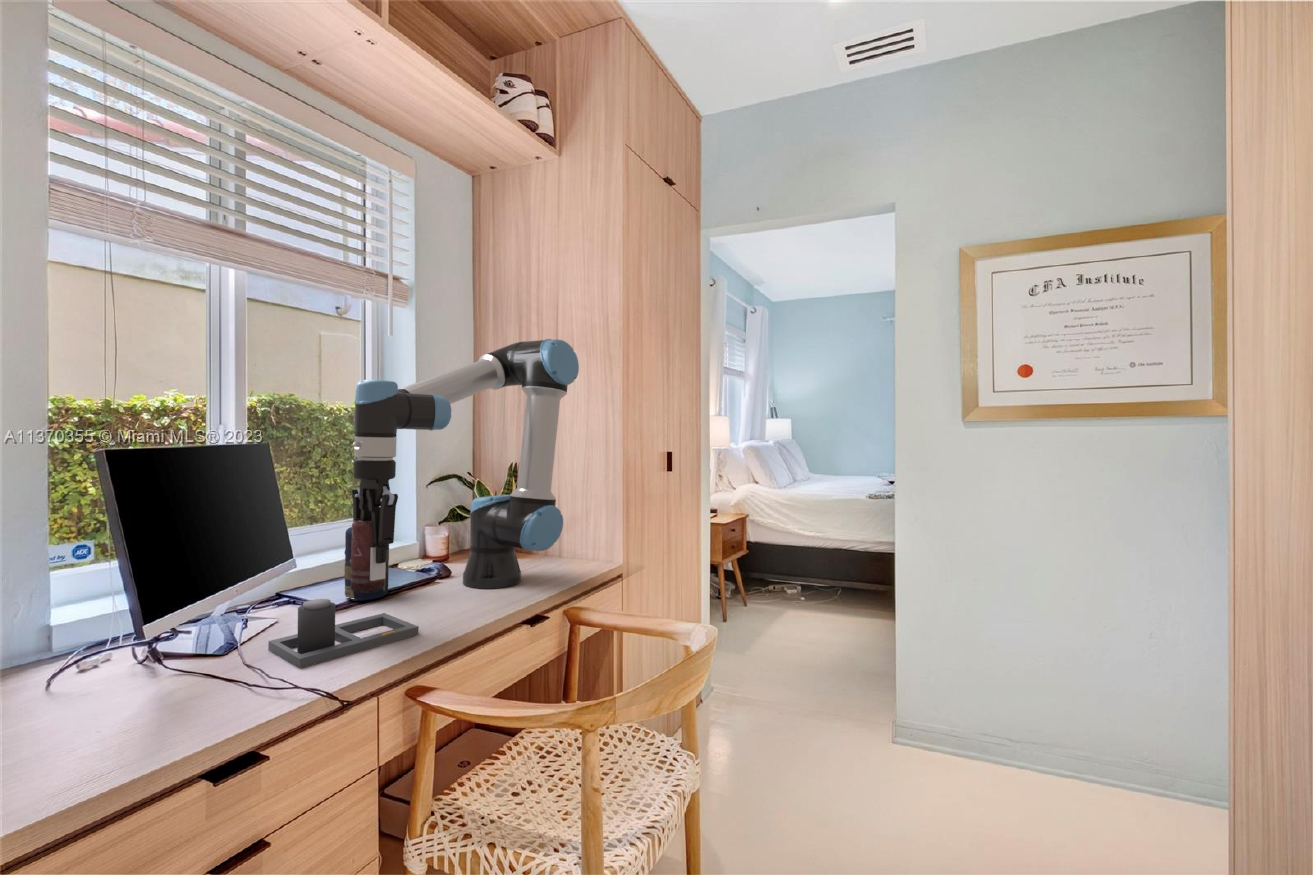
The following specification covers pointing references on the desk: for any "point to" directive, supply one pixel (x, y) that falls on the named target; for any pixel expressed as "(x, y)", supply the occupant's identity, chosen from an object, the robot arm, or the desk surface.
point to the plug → (316, 625)
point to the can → (362, 558)
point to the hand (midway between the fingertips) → (372, 577)
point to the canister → (348, 590)
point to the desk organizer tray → (345, 640)
